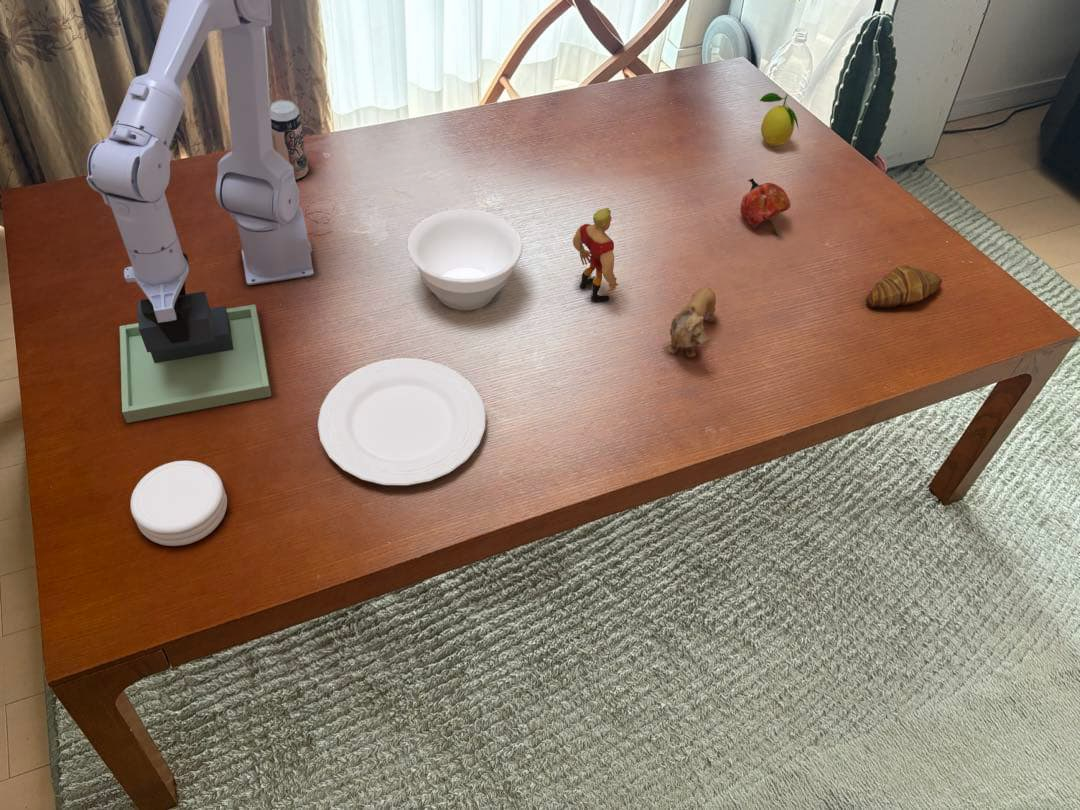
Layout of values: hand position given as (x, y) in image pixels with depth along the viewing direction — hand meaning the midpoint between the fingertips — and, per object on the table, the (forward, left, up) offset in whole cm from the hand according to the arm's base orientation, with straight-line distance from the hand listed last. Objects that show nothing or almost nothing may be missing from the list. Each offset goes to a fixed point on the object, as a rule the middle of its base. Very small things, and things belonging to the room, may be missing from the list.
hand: (178, 324), depth 115 cm
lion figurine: (-66, +11, -8) cm, 68 cm away
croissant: (-101, +10, -8) cm, 102 cm away
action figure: (-56, -2, -8) cm, 57 cm away
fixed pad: (0, -5, -8) cm, 9 cm away
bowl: (-38, -7, -8) cm, 40 cm away
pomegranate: (-88, -11, -8) cm, 89 cm away
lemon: (-100, -31, -8) cm, 105 cm away
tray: (0, -1, -8) cm, 8 cm away
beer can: (-18, -41, -8) cm, 45 cm away
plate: (-24, +16, -8) cm, 30 cm away
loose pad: (0, 0, -1) cm, 1 cm away
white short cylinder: (+3, +22, -8) cm, 24 cm away
